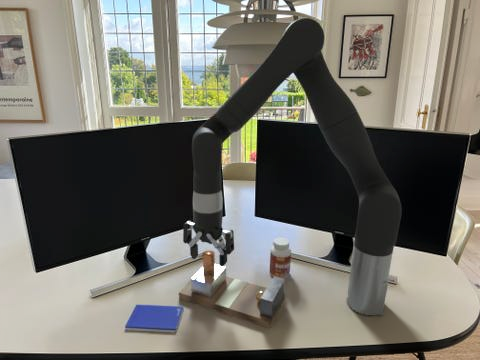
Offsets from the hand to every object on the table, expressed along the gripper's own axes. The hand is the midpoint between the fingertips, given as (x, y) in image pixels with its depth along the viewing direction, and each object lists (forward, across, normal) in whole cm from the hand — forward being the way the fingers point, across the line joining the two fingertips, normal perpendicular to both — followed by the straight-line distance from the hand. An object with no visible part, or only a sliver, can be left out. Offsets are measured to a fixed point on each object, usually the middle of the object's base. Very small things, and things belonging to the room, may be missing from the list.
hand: (208, 261), depth 92 cm
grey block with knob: (+8, -17, 0) cm, 19 cm away
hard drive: (+11, +7, +15) cm, 20 cm away
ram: (+7, 0, 0) cm, 7 cm away
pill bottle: (+10, -15, -17) cm, 25 cm away
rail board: (+10, -7, 0) cm, 12 cm away
